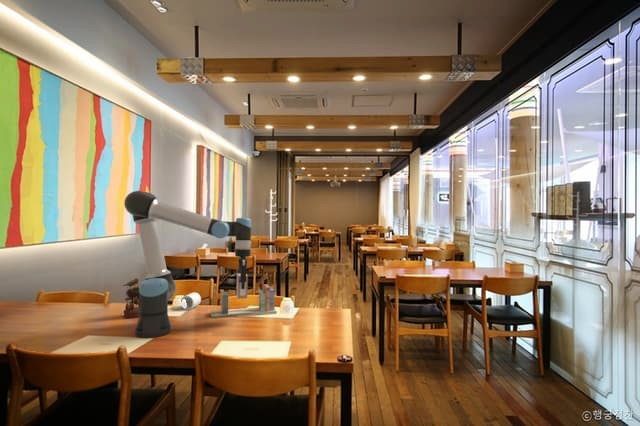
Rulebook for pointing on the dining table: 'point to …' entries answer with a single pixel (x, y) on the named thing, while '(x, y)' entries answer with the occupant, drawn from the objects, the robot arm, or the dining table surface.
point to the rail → (264, 308)
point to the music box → (132, 293)
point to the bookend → (224, 302)
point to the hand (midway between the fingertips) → (241, 293)
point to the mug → (192, 300)
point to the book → (239, 286)
